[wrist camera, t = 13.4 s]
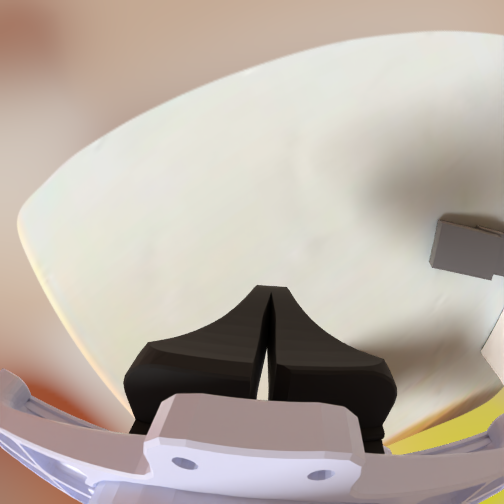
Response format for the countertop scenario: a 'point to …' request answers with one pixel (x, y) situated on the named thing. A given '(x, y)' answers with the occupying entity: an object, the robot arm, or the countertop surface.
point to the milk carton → (496, 348)
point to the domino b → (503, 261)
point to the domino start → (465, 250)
